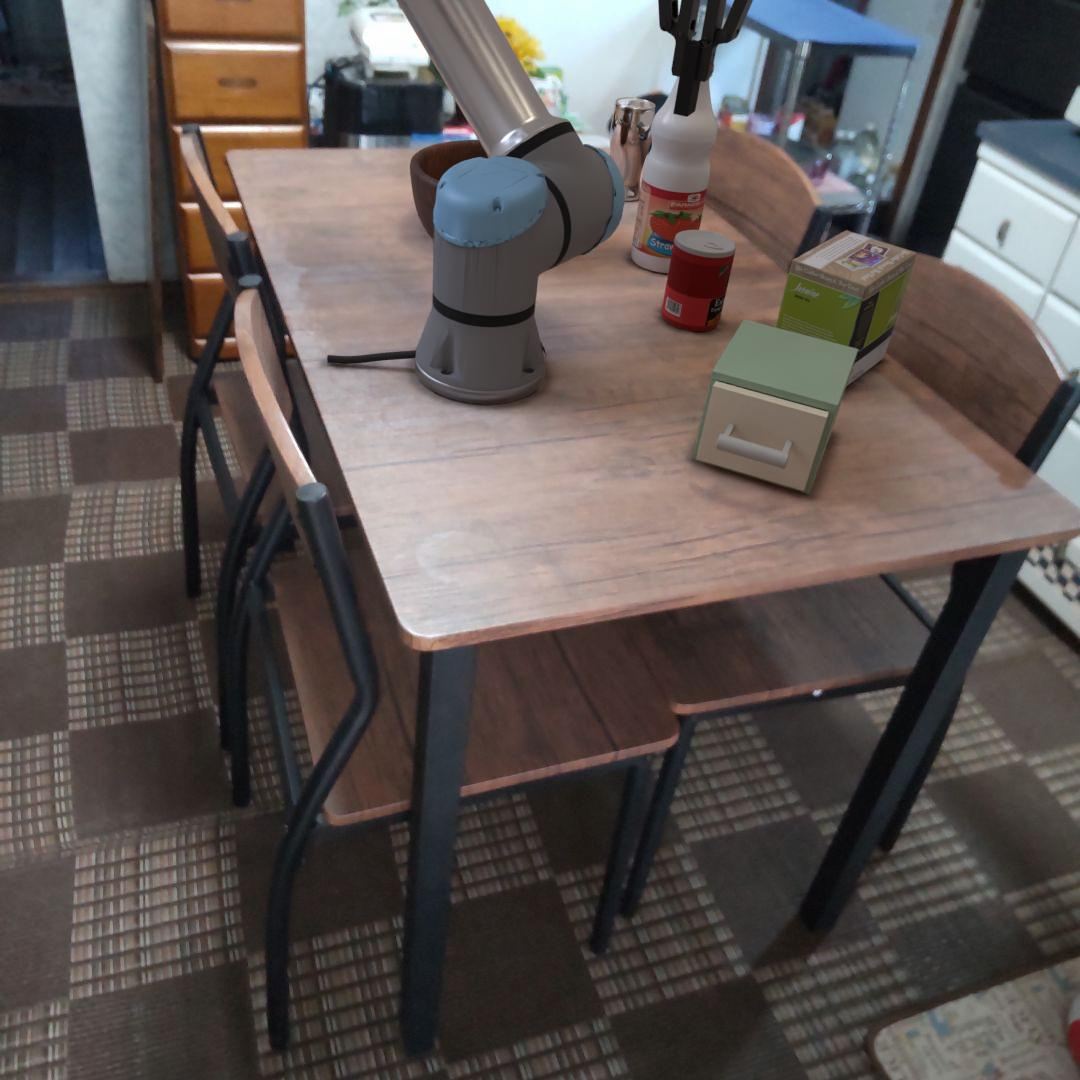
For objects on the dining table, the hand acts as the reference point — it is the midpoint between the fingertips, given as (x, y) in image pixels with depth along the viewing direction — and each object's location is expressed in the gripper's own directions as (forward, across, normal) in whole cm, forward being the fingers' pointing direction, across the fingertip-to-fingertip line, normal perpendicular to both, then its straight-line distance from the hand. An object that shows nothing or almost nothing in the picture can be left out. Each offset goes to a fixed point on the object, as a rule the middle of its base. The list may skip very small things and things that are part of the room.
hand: (684, 112), depth 102 cm
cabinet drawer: (+30, -18, +11) cm, 36 cm away
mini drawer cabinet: (+31, -18, +7) cm, 36 cm away
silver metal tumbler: (+31, +25, -59) cm, 71 cm away
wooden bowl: (+31, +34, -28) cm, 54 cm away
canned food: (+31, 0, -19) cm, 36 cm away
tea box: (+31, -20, -17) cm, 40 cm away
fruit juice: (+31, +9, -35) cm, 47 cm away
